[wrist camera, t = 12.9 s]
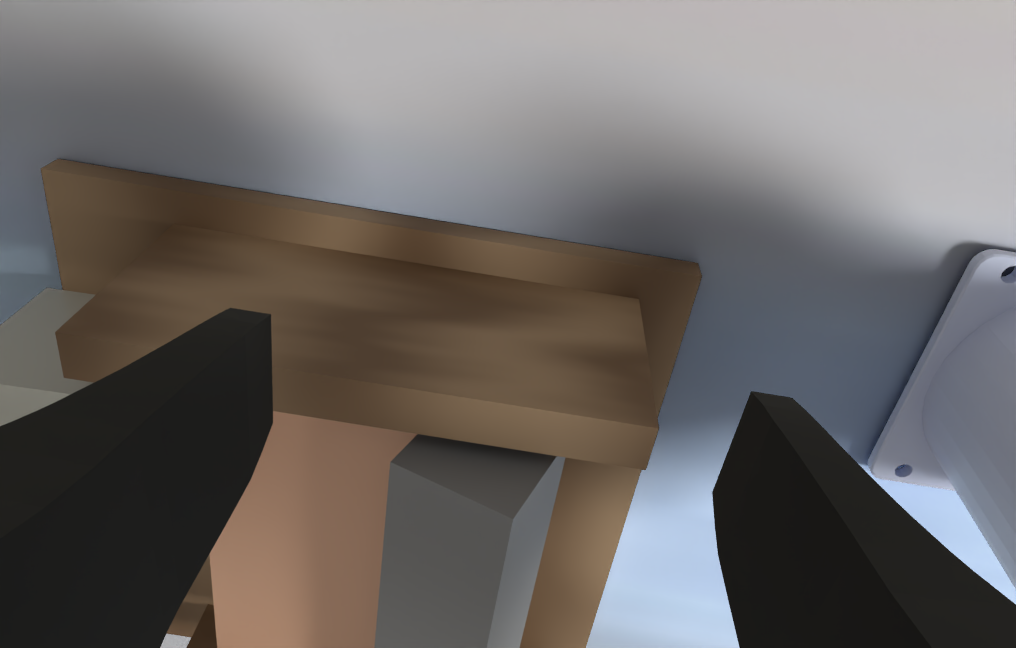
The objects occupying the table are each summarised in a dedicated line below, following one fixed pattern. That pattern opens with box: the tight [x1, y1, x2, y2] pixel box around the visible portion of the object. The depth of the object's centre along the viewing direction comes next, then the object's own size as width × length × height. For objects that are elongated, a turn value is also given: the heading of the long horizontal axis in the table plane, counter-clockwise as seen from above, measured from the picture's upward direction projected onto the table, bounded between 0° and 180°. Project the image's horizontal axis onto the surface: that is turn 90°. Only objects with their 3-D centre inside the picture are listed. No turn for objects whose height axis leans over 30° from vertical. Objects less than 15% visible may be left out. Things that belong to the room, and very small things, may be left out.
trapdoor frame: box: [41, 159, 702, 648], centre depth 24 cm, size 18×19×6 cm
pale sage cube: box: [0, 288, 95, 426], centre depth 22 cm, size 4×4×5 cm
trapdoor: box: [209, 411, 565, 648], centre depth 22 cm, size 10×14×3 cm
